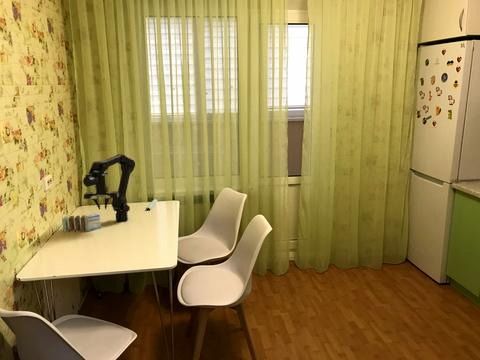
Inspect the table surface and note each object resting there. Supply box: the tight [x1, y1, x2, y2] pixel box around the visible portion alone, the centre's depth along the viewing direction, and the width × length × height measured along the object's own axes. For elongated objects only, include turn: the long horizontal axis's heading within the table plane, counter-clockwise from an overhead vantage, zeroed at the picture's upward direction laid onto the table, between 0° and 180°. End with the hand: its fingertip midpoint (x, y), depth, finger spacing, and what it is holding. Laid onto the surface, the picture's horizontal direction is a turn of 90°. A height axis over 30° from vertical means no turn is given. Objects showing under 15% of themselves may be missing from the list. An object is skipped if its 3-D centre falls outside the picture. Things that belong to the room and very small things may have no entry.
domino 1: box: [80, 215, 87, 232], centre depth 231 cm, size 2×5×8 cm, turn 6°
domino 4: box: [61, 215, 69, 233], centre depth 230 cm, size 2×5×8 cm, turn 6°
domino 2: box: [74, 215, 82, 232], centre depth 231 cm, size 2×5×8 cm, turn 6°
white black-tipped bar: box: [145, 198, 158, 211], centre depth 278 cm, size 23×7×3 cm, turn 179°
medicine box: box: [84, 213, 102, 232], centre depth 232 cm, size 8×4×9 cm, turn 143°
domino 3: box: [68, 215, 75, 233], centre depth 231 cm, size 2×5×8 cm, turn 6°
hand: (102, 209), depth 231 cm, fingers open, 3 cm apart
